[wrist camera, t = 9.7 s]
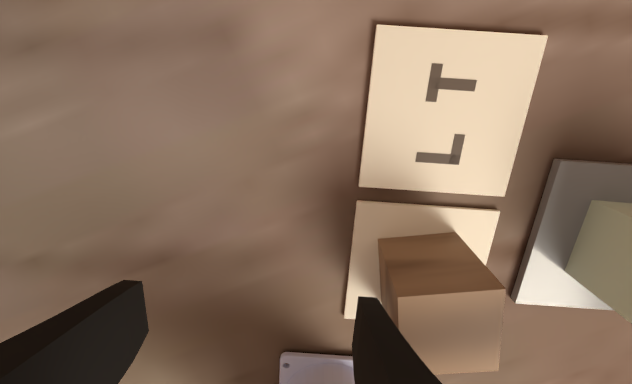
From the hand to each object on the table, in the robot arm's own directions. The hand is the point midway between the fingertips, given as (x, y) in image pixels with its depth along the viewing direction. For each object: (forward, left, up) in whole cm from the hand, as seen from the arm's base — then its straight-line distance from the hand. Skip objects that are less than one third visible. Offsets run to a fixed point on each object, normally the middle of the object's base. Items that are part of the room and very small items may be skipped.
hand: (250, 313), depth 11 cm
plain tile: (-4, -9, -10) cm, 14 cm away
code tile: (+6, -9, -10) cm, 15 cm away
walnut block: (-4, -9, -10) cm, 14 cm away
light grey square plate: (-1, -21, -10) cm, 23 cm away
